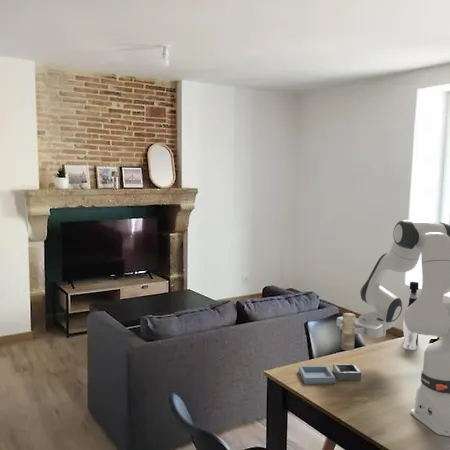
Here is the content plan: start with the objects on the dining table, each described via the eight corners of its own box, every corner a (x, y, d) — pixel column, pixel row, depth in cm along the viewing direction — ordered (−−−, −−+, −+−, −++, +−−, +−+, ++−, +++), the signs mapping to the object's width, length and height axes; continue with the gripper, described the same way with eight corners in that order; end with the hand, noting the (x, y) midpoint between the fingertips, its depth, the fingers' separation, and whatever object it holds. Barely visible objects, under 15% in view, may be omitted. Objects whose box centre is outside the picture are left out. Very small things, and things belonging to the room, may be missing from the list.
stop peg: (355, 350, 200) (357, 316, 199) (343, 350, 200) (345, 316, 199) (351, 346, 205) (353, 313, 204) (340, 346, 205) (341, 313, 204)
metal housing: (360, 379, 200) (361, 372, 200) (338, 379, 199) (339, 372, 199) (353, 370, 209) (354, 363, 209) (332, 371, 208) (332, 364, 208)
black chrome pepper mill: (401, 340, 247) (404, 281, 244) (411, 339, 249) (415, 280, 246) (409, 345, 241) (413, 284, 238) (420, 344, 243) (424, 283, 240)
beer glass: (415, 346, 240) (417, 315, 239) (419, 351, 233) (421, 320, 232) (400, 345, 241) (402, 315, 239) (404, 350, 234) (405, 319, 232)
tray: (335, 383, 196) (335, 377, 195) (304, 383, 195) (305, 377, 195) (327, 371, 208) (327, 365, 207) (298, 371, 207) (298, 365, 207)
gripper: (348, 310, 218) (327, 315, 209) (389, 322, 201) (368, 328, 193) (348, 324, 218) (327, 330, 210) (388, 337, 202) (367, 344, 194)
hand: (347, 329), depth 201 cm, fingers closed on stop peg, 5 cm apart
